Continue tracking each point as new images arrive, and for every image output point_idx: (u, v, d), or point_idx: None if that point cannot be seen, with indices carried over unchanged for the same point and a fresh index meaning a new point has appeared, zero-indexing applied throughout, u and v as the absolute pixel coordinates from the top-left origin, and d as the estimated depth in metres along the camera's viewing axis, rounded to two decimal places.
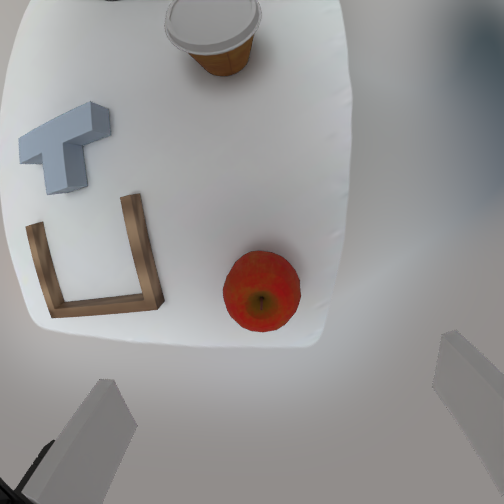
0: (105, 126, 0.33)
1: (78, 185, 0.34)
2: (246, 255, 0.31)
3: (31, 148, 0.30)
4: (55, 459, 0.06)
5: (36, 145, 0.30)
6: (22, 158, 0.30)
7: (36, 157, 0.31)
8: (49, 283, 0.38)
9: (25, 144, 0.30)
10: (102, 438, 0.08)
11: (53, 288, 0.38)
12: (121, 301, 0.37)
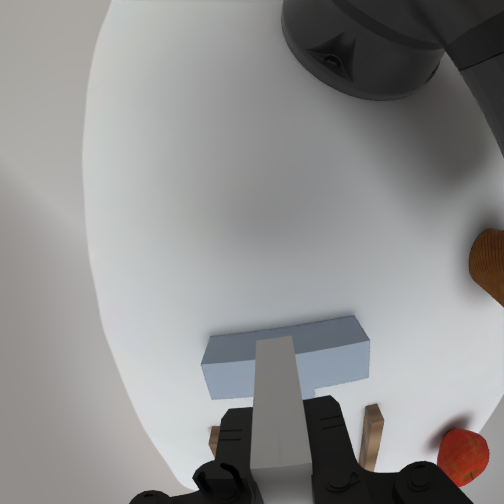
0: None
1: None
2: (467, 446, 0.24)
3: (240, 386, 0.23)
4: (270, 418, 0.07)
5: None
6: (218, 394, 0.24)
7: None
8: None
9: (224, 378, 0.23)
10: None
11: None
12: None
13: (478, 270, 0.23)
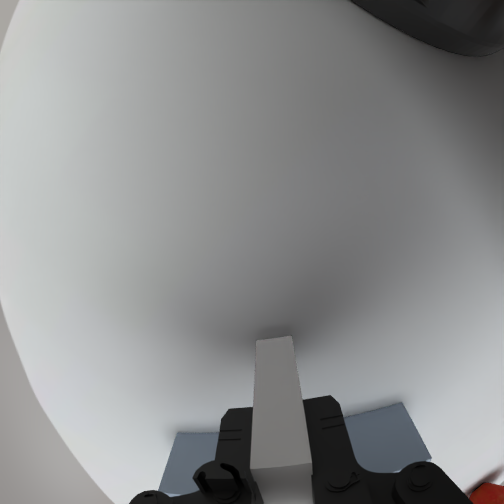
0: None
1: None
2: None
3: None
4: (270, 418, 0.07)
5: None
6: None
7: None
8: None
9: None
10: None
11: None
12: None
13: None
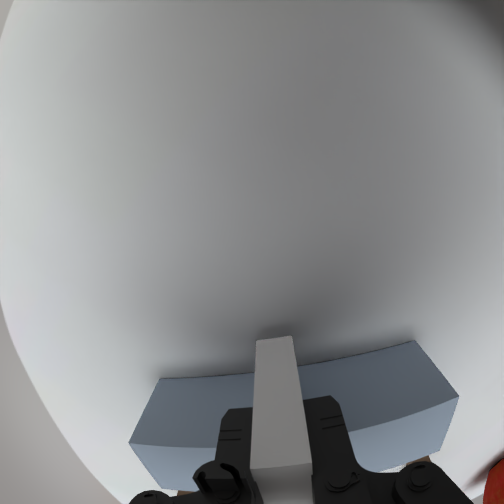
0: None
1: None
2: None
3: None
4: (270, 418, 0.07)
5: None
6: (170, 484, 0.10)
7: None
8: None
9: (175, 466, 0.10)
10: None
11: None
12: None
13: None
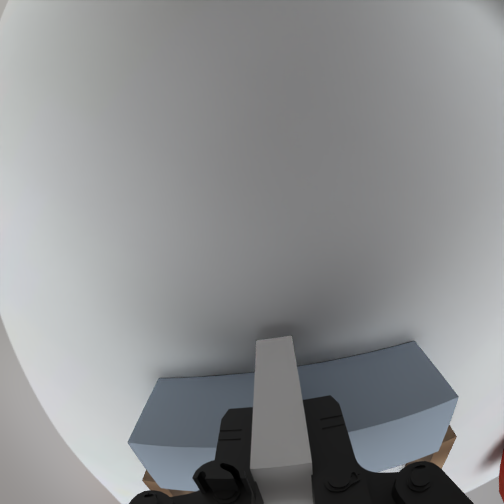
0: None
1: None
2: None
3: None
4: (270, 418, 0.07)
5: None
6: (169, 483, 0.10)
7: None
8: None
9: (174, 466, 0.10)
10: None
11: None
12: None
13: None
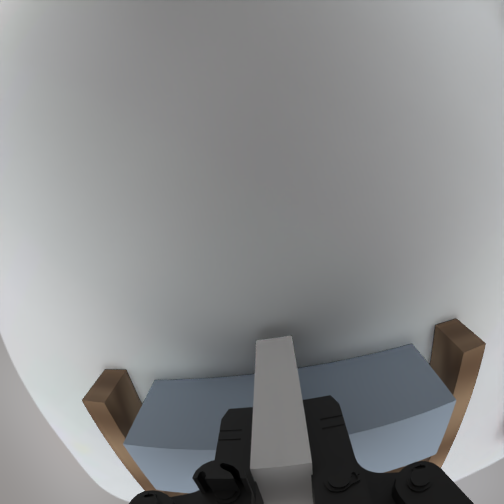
0: None
1: None
2: None
3: None
4: (270, 418, 0.07)
5: None
6: (164, 485, 0.10)
7: None
8: None
9: (170, 468, 0.10)
10: None
11: None
12: None
13: None
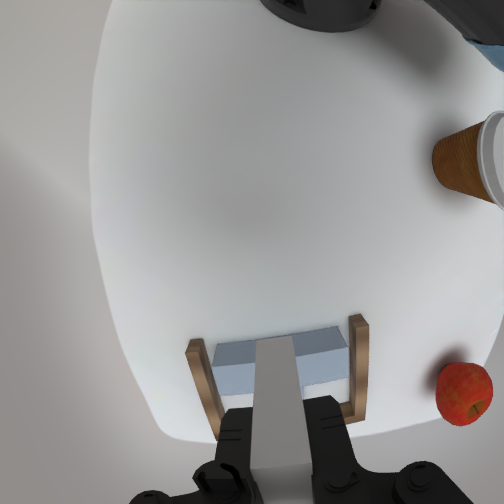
0: None
1: None
2: (466, 373, 0.27)
3: (243, 384, 0.29)
4: (270, 418, 0.07)
5: None
6: (225, 391, 0.29)
7: None
8: (218, 409, 0.33)
9: (230, 377, 0.29)
10: None
11: (220, 412, 0.34)
12: None
13: (441, 166, 0.26)
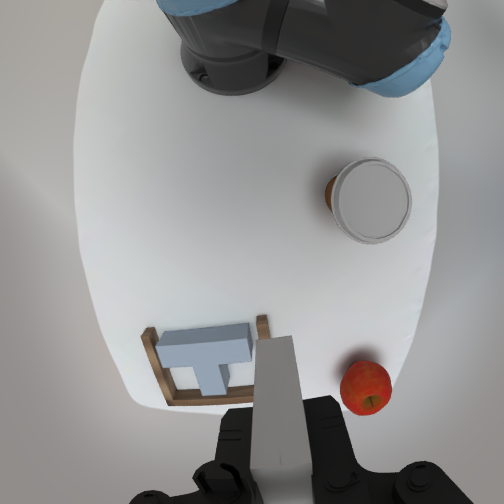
0: (251, 343, 0.44)
1: None
2: (361, 370, 0.39)
3: (177, 359, 0.42)
4: (270, 418, 0.07)
5: (184, 359, 0.41)
6: (165, 364, 0.42)
7: None
8: (167, 380, 0.46)
9: (168, 354, 0.41)
10: None
11: (169, 382, 0.47)
12: (246, 395, 0.45)
13: (327, 201, 0.38)
